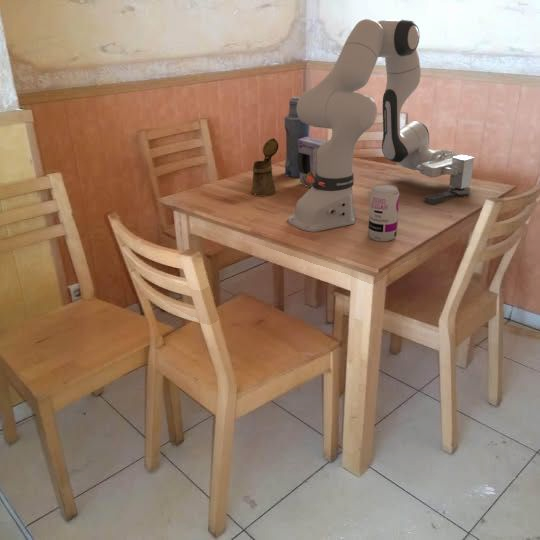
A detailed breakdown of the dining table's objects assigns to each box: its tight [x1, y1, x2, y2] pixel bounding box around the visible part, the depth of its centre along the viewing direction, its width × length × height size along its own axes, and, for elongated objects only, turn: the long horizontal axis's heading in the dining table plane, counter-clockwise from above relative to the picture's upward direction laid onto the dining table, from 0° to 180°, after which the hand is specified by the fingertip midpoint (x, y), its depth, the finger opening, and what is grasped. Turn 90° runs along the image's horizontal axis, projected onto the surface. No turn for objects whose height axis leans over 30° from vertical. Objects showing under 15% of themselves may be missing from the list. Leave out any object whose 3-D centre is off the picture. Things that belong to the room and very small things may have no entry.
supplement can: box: [367, 183, 400, 242], centre depth 161 cm, size 8×8×15 cm
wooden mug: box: [251, 137, 279, 196], centre depth 203 cm, size 9×14×18 cm, turn 150°
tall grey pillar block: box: [449, 154, 475, 189], centre depth 193 cm, size 5×5×10 cm
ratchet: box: [424, 185, 471, 206], centre depth 192 cm, size 19×7×6 cm, turn 124°
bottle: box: [284, 96, 311, 178], centre depth 217 cm, size 10×10×30 cm
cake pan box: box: [298, 136, 326, 188], centre depth 203 cm, size 19×5×18 cm, turn 33°
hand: (464, 170), depth 192 cm, fingers closed on tall grey pillar block, 5 cm apart
